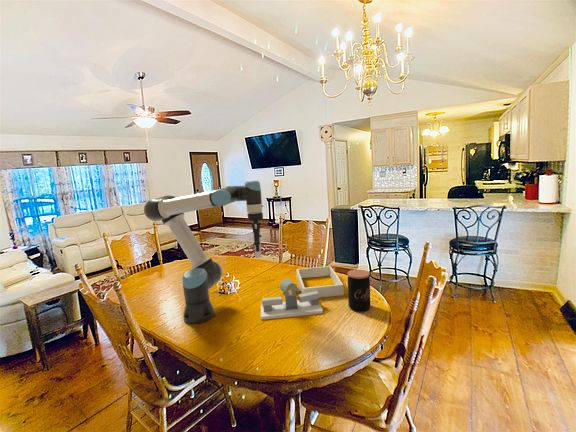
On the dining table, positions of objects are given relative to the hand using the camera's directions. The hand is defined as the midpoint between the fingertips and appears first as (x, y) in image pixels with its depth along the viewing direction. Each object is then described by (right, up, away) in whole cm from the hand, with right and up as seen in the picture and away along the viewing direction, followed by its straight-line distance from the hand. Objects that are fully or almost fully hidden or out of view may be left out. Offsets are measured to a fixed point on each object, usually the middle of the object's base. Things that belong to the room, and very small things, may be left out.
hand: (258, 253), depth 160 cm
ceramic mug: (+17, -25, +20) cm, 36 cm away
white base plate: (+16, -28, -1) cm, 33 cm away
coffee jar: (+50, -27, -3) cm, 57 cm away
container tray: (+33, -22, +27) cm, 48 cm away
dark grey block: (+17, -27, -1) cm, 31 cm away
